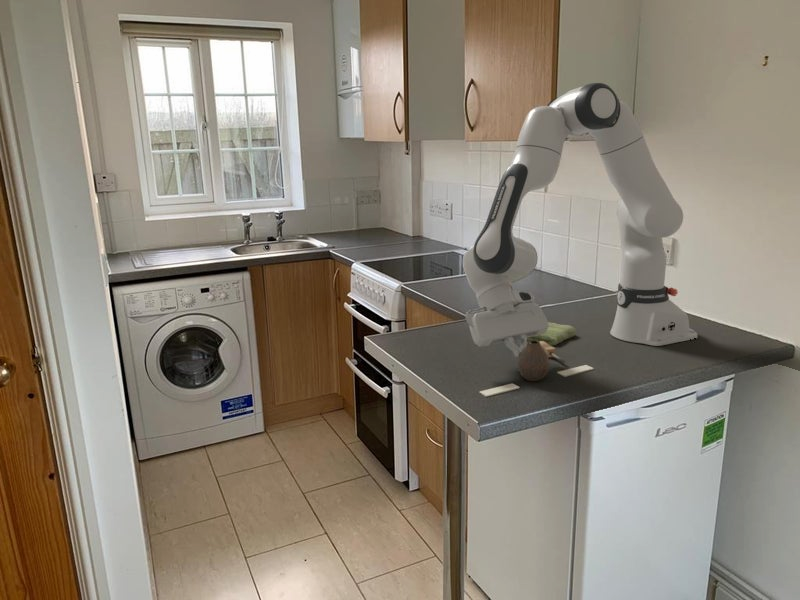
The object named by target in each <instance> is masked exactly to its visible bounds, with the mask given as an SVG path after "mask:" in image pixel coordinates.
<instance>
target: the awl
mask: <svg viewBox="0 0 800 600" xmlns="http://www.w3.org/2000/svg"><path fill="white" fill-rule="evenodd" d="M540 345H541V347H542V348H543V349H544V351H545V352H546V354H547V356H548V359H549V358H554V359H556V360H558V361H560V362H561V363H562V364H564V363H566V361H565V359H563V358H562V357H559V355H556V348H555V347H554V346H553V345H552V346H551V345H549V344H547V343H545V342H544V341H540Z"/></svg>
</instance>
